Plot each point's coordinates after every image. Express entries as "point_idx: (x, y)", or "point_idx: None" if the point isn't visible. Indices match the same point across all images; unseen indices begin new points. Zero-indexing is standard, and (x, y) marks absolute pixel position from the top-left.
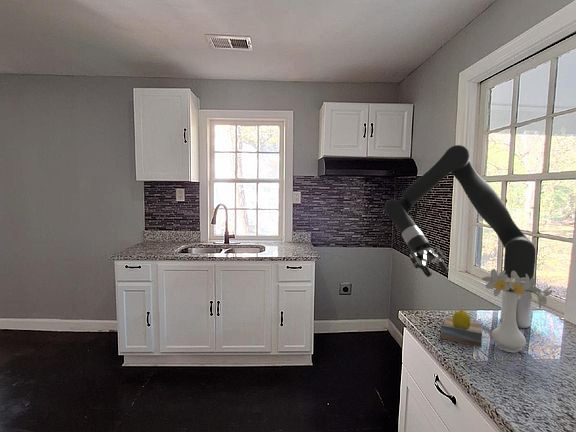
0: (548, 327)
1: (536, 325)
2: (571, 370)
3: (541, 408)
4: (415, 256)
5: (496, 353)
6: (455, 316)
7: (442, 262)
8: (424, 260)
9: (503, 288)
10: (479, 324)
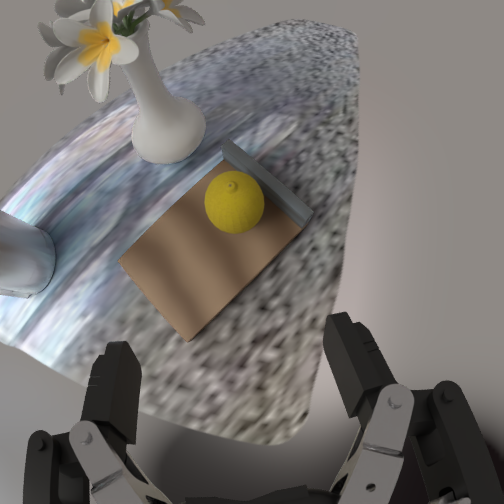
0: None
1: None
2: None
3: (300, 33)
4: (478, 476)
5: (223, 130)
6: (260, 196)
7: (98, 428)
8: (381, 449)
9: (170, 3)
10: (130, 254)
